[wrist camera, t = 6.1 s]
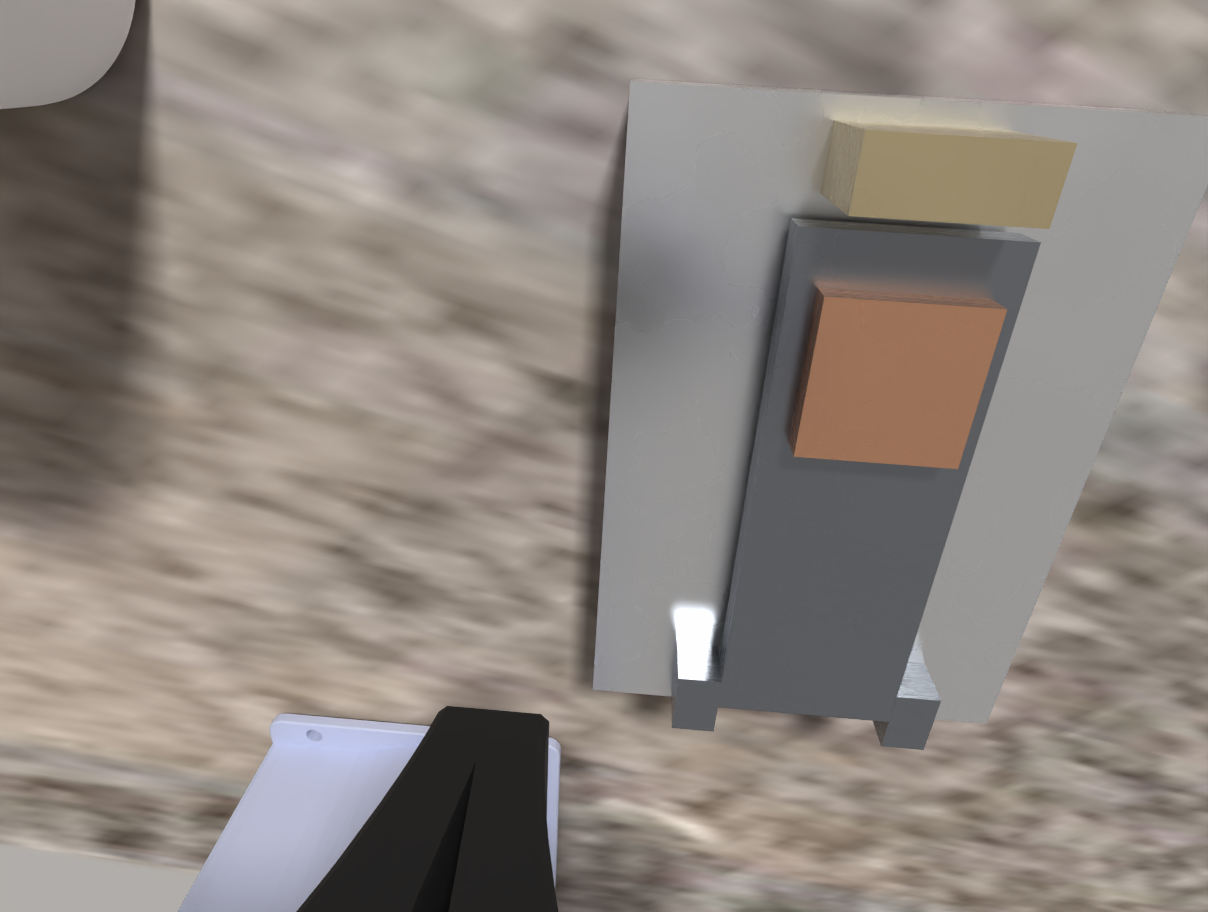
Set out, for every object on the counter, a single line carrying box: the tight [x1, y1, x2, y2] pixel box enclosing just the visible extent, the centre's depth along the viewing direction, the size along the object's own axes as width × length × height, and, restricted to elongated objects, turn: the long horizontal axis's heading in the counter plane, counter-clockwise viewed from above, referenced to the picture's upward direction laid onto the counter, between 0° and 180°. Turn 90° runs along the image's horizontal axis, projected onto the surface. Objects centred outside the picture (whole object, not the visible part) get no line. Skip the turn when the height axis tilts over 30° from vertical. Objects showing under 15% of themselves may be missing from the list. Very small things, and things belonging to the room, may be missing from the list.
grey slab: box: [718, 218, 1041, 722], centre depth 15 cm, size 4×11×1 cm, turn 177°
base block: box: [593, 79, 1208, 750], centre depth 16 cm, size 10×14×5 cm
